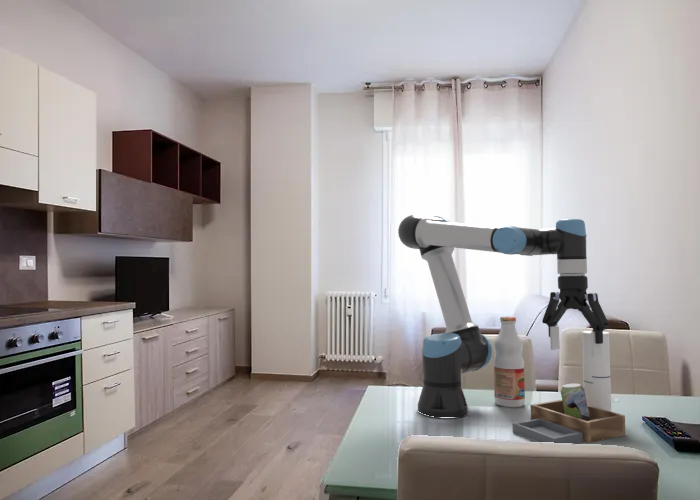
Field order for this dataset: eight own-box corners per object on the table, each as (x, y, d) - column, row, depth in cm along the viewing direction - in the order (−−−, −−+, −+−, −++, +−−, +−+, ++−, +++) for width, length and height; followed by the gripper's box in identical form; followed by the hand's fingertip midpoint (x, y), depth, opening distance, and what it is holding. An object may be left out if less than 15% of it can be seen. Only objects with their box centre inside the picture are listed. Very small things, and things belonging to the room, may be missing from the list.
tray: (512, 431, 134) (512, 423, 134) (540, 426, 138) (540, 418, 138) (554, 448, 121) (554, 438, 122) (583, 442, 126) (583, 432, 126)
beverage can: (593, 432, 133) (592, 387, 133) (564, 431, 134) (563, 386, 135) (587, 425, 139) (586, 382, 139) (559, 424, 140) (558, 381, 141)
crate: (530, 422, 142) (530, 404, 142) (566, 416, 148) (565, 399, 148) (588, 443, 125) (587, 422, 125) (625, 434, 131) (624, 415, 131)
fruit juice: (492, 399, 167) (490, 315, 169) (521, 400, 166) (519, 316, 168) (497, 407, 158) (495, 318, 159) (528, 408, 157) (526, 318, 158)
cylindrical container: (610, 423, 140) (608, 334, 142) (582, 420, 144) (580, 332, 145) (612, 417, 147) (610, 331, 148) (585, 414, 150) (583, 330, 151)
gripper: (622, 274, 129) (626, 358, 128) (546, 275, 151) (549, 345, 150) (602, 275, 126) (606, 360, 125) (528, 275, 148) (530, 347, 147)
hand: (574, 352), depth 137 cm, fingers open, 13 cm apart
